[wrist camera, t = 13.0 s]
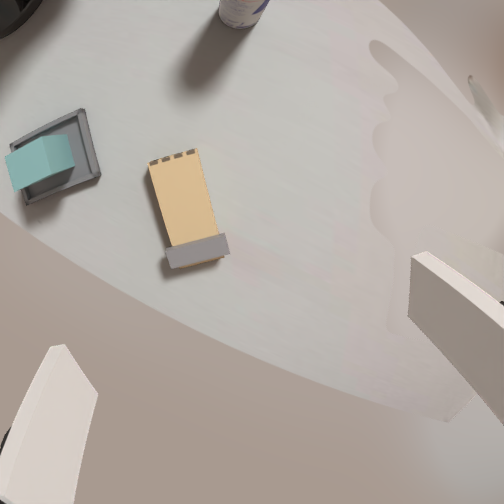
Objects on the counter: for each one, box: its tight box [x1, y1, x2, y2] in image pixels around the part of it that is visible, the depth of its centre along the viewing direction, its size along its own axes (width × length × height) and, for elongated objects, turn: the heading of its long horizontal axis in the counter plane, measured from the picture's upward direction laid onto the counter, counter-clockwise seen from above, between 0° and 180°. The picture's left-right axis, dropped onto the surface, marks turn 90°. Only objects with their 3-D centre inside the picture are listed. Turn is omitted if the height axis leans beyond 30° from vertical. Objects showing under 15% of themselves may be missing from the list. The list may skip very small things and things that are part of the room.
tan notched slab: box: [147, 148, 230, 269], centre depth 37 cm, size 14×8×4 cm, turn 12°
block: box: [5, 134, 75, 192], centre depth 30 cm, size 4×6×7 cm
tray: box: [10, 108, 101, 206], centre depth 33 cm, size 9×12×2 cm
